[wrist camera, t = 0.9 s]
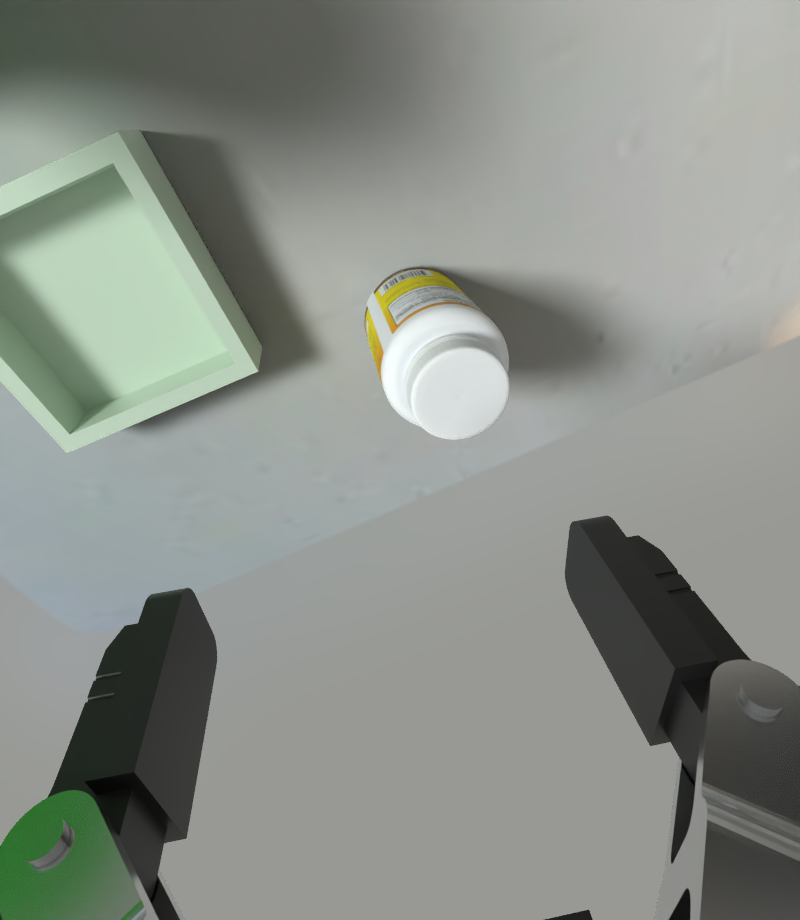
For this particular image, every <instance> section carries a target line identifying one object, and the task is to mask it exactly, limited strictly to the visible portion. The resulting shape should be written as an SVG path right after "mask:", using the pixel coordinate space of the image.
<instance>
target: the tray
mask: <svg viewBox="0 0 800 920" xmlns="http://www.w3.org/2000/svg"><path fill="white" fill-rule="evenodd" d="M261 353H262V346H261V344H260V342H259V340H258V338H257V337H256V335H255V333H254V331H253V330H252V328H251V326H250V324H249V322H248V321H247V319H246V317H245V315H244V314H243V312H242V310H241V308H240V307H239V305H238V303H237V301H236V299H235V298H234V296H233V294H232V292H231V291H230V289H229V287H228V285H227V283H226V282H225V280H224V278H223V276H222V275H221V273H220V271H219V269H218V267H217V266H216V264H215V262H214V260H213V259H212V257H211V255H210V253H209V252H208V250H207V248H206V246H205V244H204V243H203V241H202V239H201V237H200V236H199V234H198V232H197V230H196V228H195V227H194V225H193V223H192V221H191V220H190V218H189V216H188V214H187V212H186V211H185V209H184V207H183V205H182V204H181V202H180V200H179V198H178V197H177V195H176V193H175V191H174V189H173V188H172V186H171V184H170V182H169V181H168V179H167V177H166V175H165V173H164V172H163V170H162V168H161V166H160V165H159V163H158V161H157V159H156V157H155V156H154V154H153V152H152V150H151V149H150V147H149V145H148V143H147V142H146V140H145V138H144V136H143V134H142V133H141V131H140V130H136V131H118V132H115V133H113V134H111V135H109V136H107V137H105V138H103V139H101V140H98V141H96V142H94V143H92V144H90V145H88V146H86V147H84V148H81V149H79V150H77V151H75V152H73V153H71V154H69V155H67V156H64V157H62V158H60V159H58V160H56V161H54V162H52V163H50V164H47V165H45V166H43V167H41V168H39V169H37V170H35V171H33V172H30V173H28V174H26V175H24V176H22V177H20V178H18V179H16V180H13V181H11V182H9V183H7V184H5V185H3V186H1V187H0V381H1V382H2V383H3V384H4V385H5V386H6V388H7V389H8V390H9V391H10V392H11V393H12V394H13V395H14V396H15V397H16V398H17V400H18V401H19V402H20V403H21V404H22V405H23V406H24V407H25V408H26V409H27V410H28V411H29V413H30V414H31V415H32V416H33V417H34V418H35V419H36V420H37V421H38V422H39V423H40V425H41V426H42V427H43V428H44V429H45V430H46V431H47V432H48V433H49V434H50V435H51V437H52V438H53V439H54V440H55V441H56V442H57V443H58V444H59V445H60V446H61V447H62V448H63V450H64V451H65V452H66V453H69V452H71V451H73V450H76V449H78V448H80V447H83V446H85V445H87V444H90V443H92V442H94V441H97V440H99V439H101V438H104V437H106V436H108V435H111V434H113V433H115V432H118V431H120V430H122V429H125V428H127V427H129V426H132V425H134V424H136V423H139V422H141V421H143V420H146V419H148V418H151V417H153V416H155V415H158V414H160V413H162V412H165V411H167V410H169V409H172V408H174V407H176V406H179V405H181V404H183V403H186V402H188V401H190V400H193V399H195V398H197V397H200V396H202V395H204V394H207V393H209V392H211V391H214V390H216V389H218V388H221V387H223V386H225V385H228V384H230V383H232V382H235V381H237V380H239V379H242V378H244V377H246V376H249V375H251V374H254V373H256V372H258V371H259V365H260V359H261Z"/></svg>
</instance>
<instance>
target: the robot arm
mask: <svg viewBox="0 0 800 920" xmlns="http://www.w3.org/2000/svg"><path fill="white" fill-rule="evenodd" d="M565 579H566V585H567V589H568V592H569V595H570V597H571V600H572V602H573V604H574V605H575V607H576V609H577V611H578V613H579V615H580V617H581V618H582V620H583V622H584V624H585V626H586V628H587V630H588V631H589V633H590V635H591V637H592V639H593V640H594V643H595V644H596V646H597V648H598V650H599V652H600V654H601V656H602V657H603V659H604V661H605V663H606V665H607V667H608V669H609V670H610V672H611V674H612V676H613V678H614V680H615V681H616V683H617V685H618V687H619V689H620V691H621V693H622V694H623V696H624V698H625V700H626V702H627V704H628V705H629V707H630V709H631V711H632V713H633V715H634V716H635V718H636V720H637V722H638V724H639V726H640V728H641V730H642V732H643V733H644V735H645V737H646V739H647V741H648V743H649V745H650V746H652V745H657V744H662V743H667V742H671V743H672V745H673V747H674V749H675V750H676V752H677V753H678V756H679V757H680V758H679V761H678V766H677V774H676V782H675V790H674V798H673V806H672V814H671V822H670V831H669V839H668V847H667V855H666V863H665V870H664V875H663V880H662V884H661V888H660V892H659V896H658V901H657V906H656V911H655V917H654V920H800V686H798V685H797V684H796V683H795V682H794V681H792V680H791V679H790V678H789V677H787V676H786V675H784V674H783V673H781V672H780V671H778V670H776V669H774V668H772V667H770V666H768V665H765V664H762V663H759V662H755V661H752V660H751V659H749V658H748V656H747V655H746V654H745V653H744V652H743V651H742V650H741V648H740V647H739V646H738V645H737V643H736V642H735V641H734V640H733V638H732V637H731V636H730V635H729V633H728V632H727V631H726V630H725V629H724V627H723V626H722V625H721V624H720V623H719V621H718V620H717V619H716V617H715V616H714V615H713V614H712V612H711V611H710V610H709V609H708V608H707V606H706V605H705V604H704V603H703V602H702V600H701V599H700V598H699V596H698V595H697V594H696V593H695V591H692V590H691V587H690V585H689V584H688V583H687V582H686V580H685V579H684V578H683V577H682V576H681V575H679V574H678V572H677V569H676V568H675V567H674V565H673V564H672V563H671V562H670V561H669V559H668V558H667V557H666V556H665V554H664V553H663V552H662V551H661V550H660V549H658V548H657V547H655V546H654V545H652V544H651V543H649V542H647V541H646V540H645V539H643V538H642V537H640V536H632V537H626V536H625V534H624V533H623V532H622V530H621V529H620V528H619V526H618V525H617V524H616V522H615V521H614V520H613V519H612V518H611V517H609V516H603V517H597V518H591V519H585V520H579V521H574V522H572V523H571V525H570V530H569V540H568V548H567V558H566V567H565ZM216 664H217V649H216V641H215V637H214V635H213V632H212V630H211V628H210V626H209V623H208V622H207V619H206V617H205V615H204V613H203V611H202V609H201V607H200V605H199V602H198V600H197V598H196V596H195V594H194V592H193V591H192V590H191V589H190V588H185V589H179V590H174V591H168V592H162V593H156V594H151V595H150V596H149V597H148V598H147V600H146V602H145V605H144V608H143V611H142V614H141V617H140V619H139V622H138V624H132V625H127V626H124V628H123V629H122V630H121V631H120V633H119V634H118V635H117V636H116V638H115V639H114V640H113V641H112V643H111V644H110V645H109V647H108V648H107V649H106V651H105V653H104V656H103V658H102V661H101V663H100V666H99V669H98V671H97V674H96V681H94V682H93V684H92V687H91V690H90V692H89V695H88V702H87V703H85V705H84V708H83V710H82V713H81V715H80V718H79V721H78V723H77V726H76V728H75V731H74V734H73V736H72V739H71V741H70V744H69V746H68V749H67V752H66V754H65V757H64V759H63V762H62V765H61V768H60V770H59V772H58V775H57V778H56V780H55V783H54V786H53V787H52V790H51V792H50V794H49V796H48V797H47V798H46V799H45V800H43V801H41V802H40V803H38V804H37V805H36V806H34V807H33V808H32V809H30V810H29V811H28V812H27V813H26V814H25V815H24V816H23V817H22V818H21V819H20V820H19V821H18V822H17V823H16V824H15V825H14V827H13V828H12V829H11V830H10V832H9V833H8V835H7V836H6V838H5V839H4V841H3V843H2V845H1V846H0V920H185V918H184V916H183V914H182V913H181V910H180V908H179V906H178V905H177V903H176V901H175V899H174V897H173V895H172V893H171V891H170V889H169V887H168V885H167V883H166V881H165V879H164V877H163V875H162V874H161V872H160V870H159V865H160V860H161V855H162V850H163V844H164V843H167V842H172V841H176V840H181V839H186V838H187V832H188V826H189V821H190V815H191V809H192V803H193V798H194V792H195V786H196V779H197V774H198V768H199V762H200V757H201V751H202V745H203V739H204V734H205V727H206V722H207V717H208V711H209V705H210V699H211V693H212V687H213V682H214V676H215V670H216ZM545 920H592V917H591V914H590V911H589V910H586V911H581V912H577V913H572V914H568V915H563V916H559V917H554V918H550V919H545Z"/></svg>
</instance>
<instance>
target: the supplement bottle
mask: <svg viewBox="0 0 800 920" xmlns="http://www.w3.org/2000/svg"><path fill="white" fill-rule="evenodd" d="M364 325H365V332H366V336H367V340H368V343H369V346H370V349H371V352H372V355H373V358H374V361H375V364H376V367H377V370H378V373H379V376H380V379H381V382H382V386H383V388H384V392H385V394H386V396H387V398H388V400H389V402H390V404H391V405H392V407H393V408H394V409H395V410H396V411H397V412H398V413H399V414H400V415H401V416H402V417H403V418H405V419H406V420H408V421H409V422H411V423H413V424H415V425H417V426H420V427H422V428H424V429H425V430H426V431H427V432H429V433H430V434H432V435H434V436H437V437H440V438H443V439H451V440H457V439H464V438H468V437H472V436H474V435H477V434H479V433H481V432H482V431H484V430H486V429H487V428H488V427H490V426H491V425H492V424H493V423H494V422H495V421H496V420H497V419H498V418H499V416H500V415H501V414H502V412H503V410H504V408H505V406H506V404H507V401H508V397H509V388H510V385H509V378H508V370H509V354H508V349H507V345H506V342H505V339H504V337H503V335H502V333H501V332H500V330H499V329H498V327H497V326H496V325H495V324H494V323H493V321H492V320H491V319H490V318H489V317H488V316H487V315H486V314H485V313H484V312H483V311H482V310H481V309H480V308H479V307H478V306H477V305H476V304H475V303H474V302H473V301H472V300H471V299H470V298H469V297H468V296H467V295H466V294H464V292H463V291H462V290H461V289H460V288H459V287H458V286H457V285H456V284H455V283H454V282H453V281H452V280H451V279H449V278H448V277H447V276H445V275H444V274H442V273H441V272H439V271H436V270H434V269H431V268H427V267H408V268H404V269H400V270H398V271H395V272H393V273H392V274H390V275H389V276H387V277H386V278H384V279H383V280H382V281H381V282H380V283H379V284H378V285H377V286H376V288H375V289H374V290H373V292H372V294H371V296H370V297H369V300H368V302H367V305H366V309H365V316H364Z"/></svg>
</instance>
